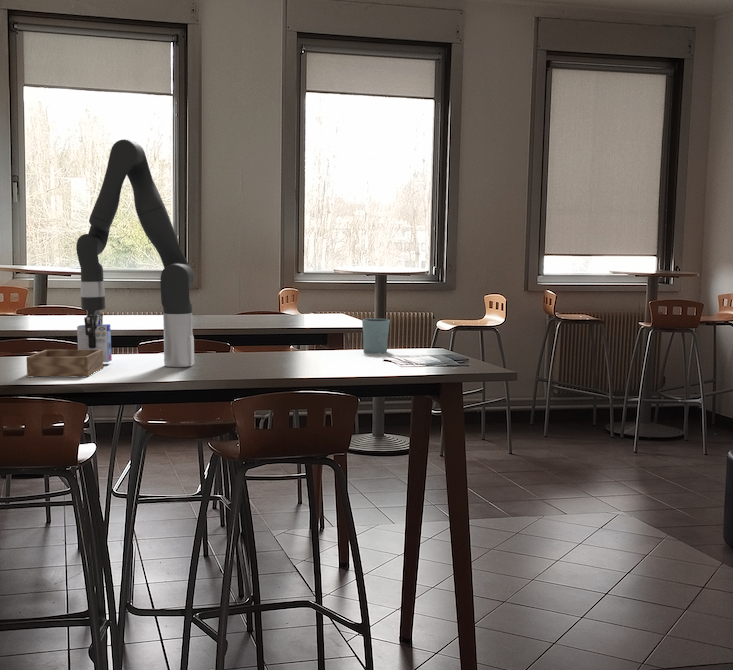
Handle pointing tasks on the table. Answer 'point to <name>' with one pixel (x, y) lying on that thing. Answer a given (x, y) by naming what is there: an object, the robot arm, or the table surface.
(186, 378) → the table surface
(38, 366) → the walled box
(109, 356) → the ink cartridge box
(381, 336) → the grey tapered piece
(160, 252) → the robot arm
